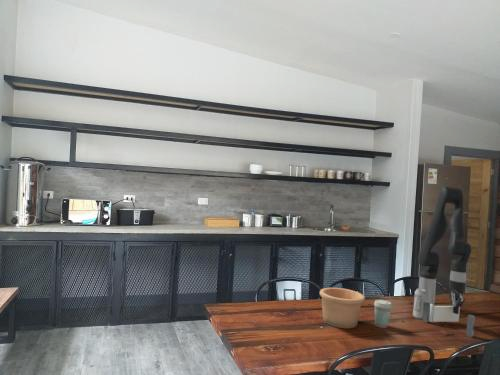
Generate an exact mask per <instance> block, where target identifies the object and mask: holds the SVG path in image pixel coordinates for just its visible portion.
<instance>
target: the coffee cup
mask: <svg viewBox="0 0 500 375" xmlns="http://www.w3.org/2000/svg"><path fill="white" fill-rule="evenodd" d="M373 305H374V325H375V327H377V328H381V329H386V328H388V325H389V321H390V318H391V317H390V314H391V311H392V308H393V306H392V303H391V302H390V301H388V300H386V299H375V301H374V303H373Z"/></svg>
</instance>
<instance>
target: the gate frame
mask: <svg viewBox="0 0 500 375" xmlns="http://www.w3.org/2000/svg"><path fill="white" fill-rule="evenodd" d="M429 311H430V303H428V302H424V307H423V319H421V320H422V322H423V323H425V324H427V323H430V322H429ZM475 317H476V316H475V315H473V314H467V321H466V332H465V334H466V335H465V336H466V337H469V338H473V337H474V332H475V322H476V321H475V320H476V318H475Z"/></svg>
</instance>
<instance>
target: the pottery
mask: <svg viewBox="0 0 500 375" xmlns="http://www.w3.org/2000/svg"><path fill="white" fill-rule="evenodd" d="M319 296H320V297H321V306H322V307H321V309H322V310H321V311H322V320H323V322H324V323H325V324H327V325H329V326H331V327H335V328H338V329H339V328H340V329H354V328H357V327H358V322H359V317H360V312H361V308H362V304H363V303H364V302H365V298H366V296H365V295H364V294H363V293H360V292H359V291H355V290H352V289H348V288H342V287H341V288H340V287H326V288H321V289H320V290H319Z"/></svg>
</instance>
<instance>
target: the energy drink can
mask: <svg viewBox="0 0 500 375" xmlns="http://www.w3.org/2000/svg"><path fill="white" fill-rule="evenodd" d="M426 299H427V293H426V290H424V289H417V288H416V290H415V291H414V298H413V309H412V310H413V311H412V316H413V317H414V318H416V319H419V320H422V319H423V307H424V302H426Z"/></svg>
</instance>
